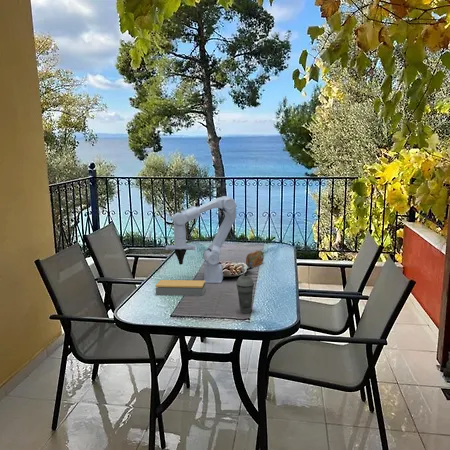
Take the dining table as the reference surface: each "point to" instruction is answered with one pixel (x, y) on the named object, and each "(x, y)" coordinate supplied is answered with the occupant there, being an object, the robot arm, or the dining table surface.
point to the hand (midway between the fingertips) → (181, 264)
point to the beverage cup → (245, 292)
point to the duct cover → (181, 283)
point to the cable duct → (180, 291)
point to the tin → (254, 259)
